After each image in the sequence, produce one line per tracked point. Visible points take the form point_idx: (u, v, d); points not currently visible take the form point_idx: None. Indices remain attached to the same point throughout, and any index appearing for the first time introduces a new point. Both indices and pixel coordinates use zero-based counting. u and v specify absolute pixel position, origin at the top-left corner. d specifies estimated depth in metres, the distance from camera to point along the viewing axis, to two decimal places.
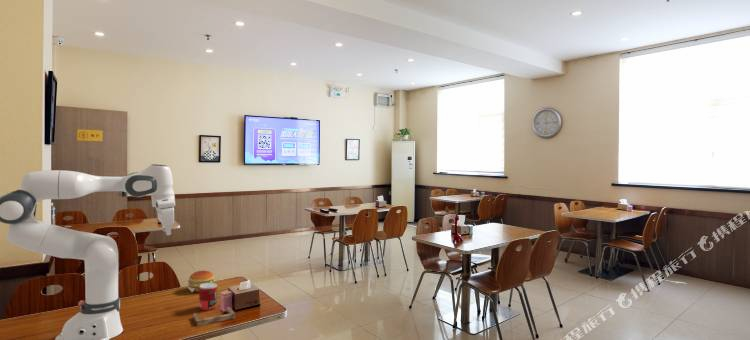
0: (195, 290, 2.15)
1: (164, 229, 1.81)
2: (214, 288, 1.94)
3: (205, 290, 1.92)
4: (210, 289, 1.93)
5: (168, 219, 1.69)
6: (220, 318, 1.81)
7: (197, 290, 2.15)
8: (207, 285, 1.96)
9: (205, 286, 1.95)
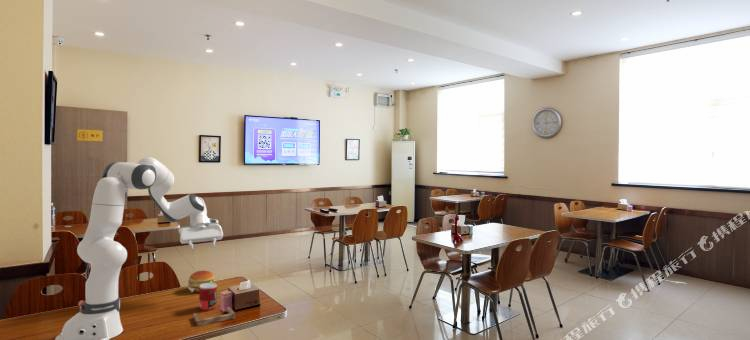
0: (195, 290, 2.15)
1: None
2: (214, 288, 1.94)
3: (205, 290, 1.92)
4: (210, 289, 1.93)
5: None
6: (220, 318, 1.81)
7: (197, 290, 2.15)
8: (207, 285, 1.96)
9: (205, 286, 1.95)
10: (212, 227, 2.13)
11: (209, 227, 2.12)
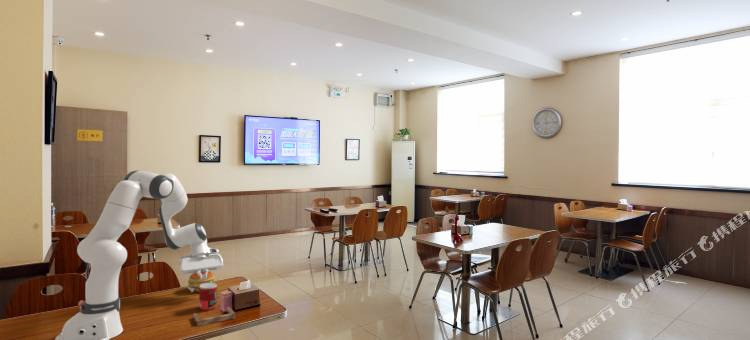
0: (195, 290, 2.15)
1: None
2: (214, 288, 1.94)
3: (205, 290, 1.92)
4: (210, 289, 1.93)
5: None
6: (220, 318, 1.81)
7: (197, 290, 2.15)
8: (207, 285, 1.96)
9: (205, 286, 1.95)
10: (213, 256, 2.12)
11: (209, 257, 2.11)
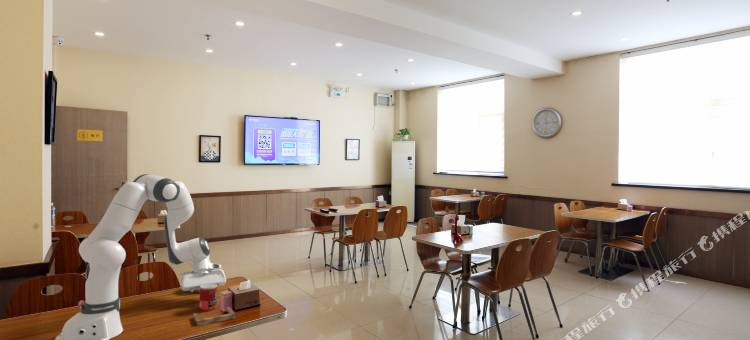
0: (195, 290, 2.15)
1: None
2: (214, 288, 1.94)
3: (205, 290, 1.91)
4: (210, 289, 1.92)
5: None
6: (220, 318, 1.81)
7: (197, 290, 2.15)
8: (207, 285, 1.96)
9: (205, 286, 1.94)
10: (215, 272, 2.07)
11: (212, 272, 2.06)
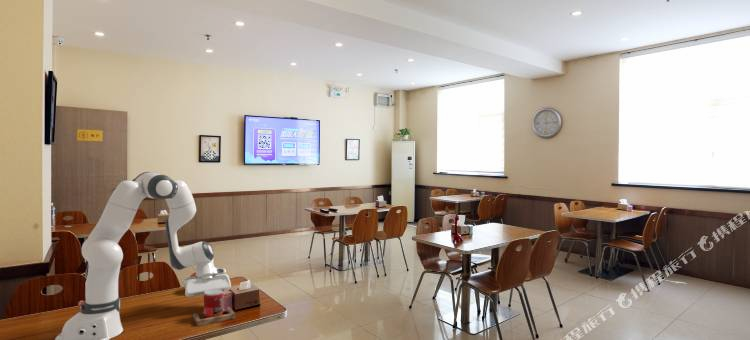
0: None
1: None
2: (219, 294, 1.86)
3: (210, 297, 1.84)
4: (215, 295, 1.84)
5: None
6: (220, 318, 1.81)
7: None
8: (212, 291, 1.88)
9: (210, 292, 1.87)
10: (220, 277, 1.99)
11: (216, 278, 1.98)
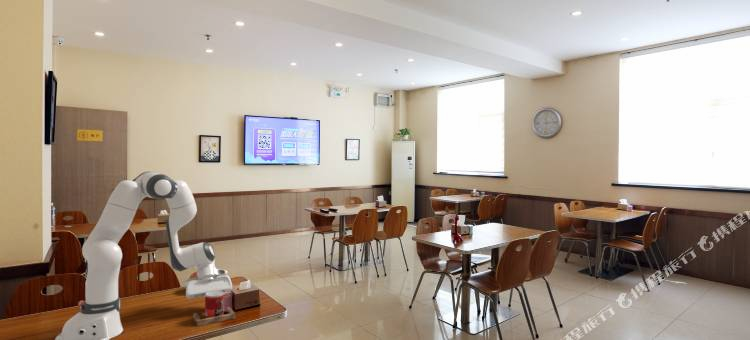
0: None
1: None
2: (221, 296, 1.84)
3: (211, 299, 1.82)
4: (217, 297, 1.82)
5: None
6: (220, 318, 1.81)
7: None
8: (213, 293, 1.86)
9: (211, 294, 1.85)
10: (221, 278, 1.97)
11: (217, 279, 1.96)
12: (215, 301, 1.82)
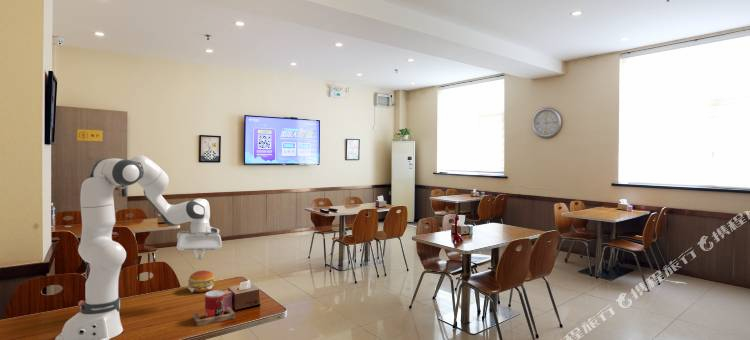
0: (195, 290, 2.15)
1: None
2: (221, 296, 1.84)
3: (211, 299, 1.82)
4: (217, 297, 1.82)
5: None
6: (220, 318, 1.81)
7: (197, 290, 2.15)
8: (213, 293, 1.86)
9: (211, 294, 1.85)
10: (212, 236, 2.04)
11: (209, 236, 2.03)
12: (215, 301, 1.82)
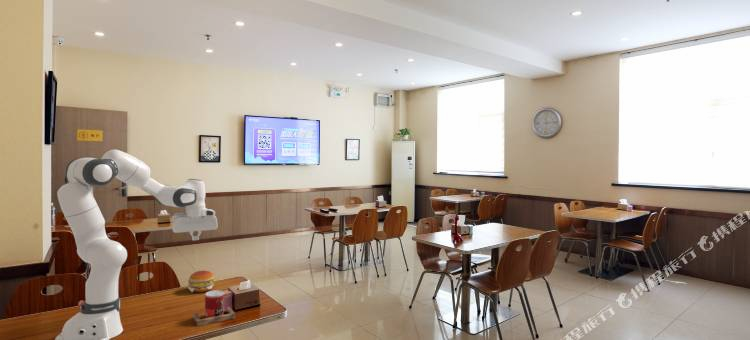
0: (195, 290, 2.15)
1: None
2: (221, 296, 1.84)
3: (211, 299, 1.82)
4: (217, 297, 1.82)
5: None
6: (220, 318, 1.81)
7: (197, 290, 2.15)
8: (213, 293, 1.86)
9: (211, 294, 1.85)
10: (208, 218, 2.02)
11: (204, 218, 2.01)
12: (215, 301, 1.82)
